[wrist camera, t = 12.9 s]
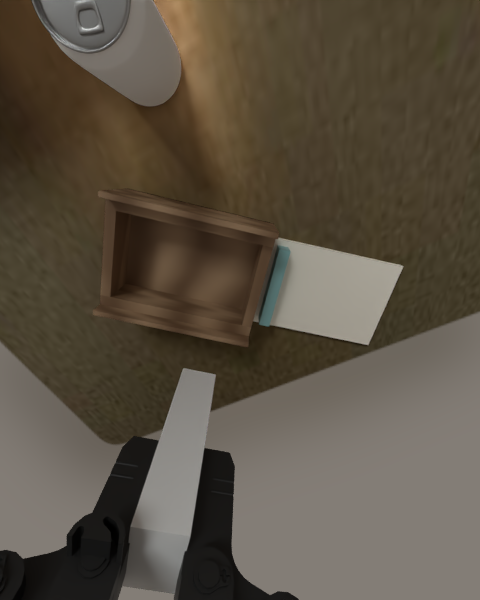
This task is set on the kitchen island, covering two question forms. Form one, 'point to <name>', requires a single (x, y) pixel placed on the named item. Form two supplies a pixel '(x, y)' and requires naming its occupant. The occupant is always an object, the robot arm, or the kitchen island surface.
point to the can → (117, 44)
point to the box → (182, 266)
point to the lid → (325, 291)
